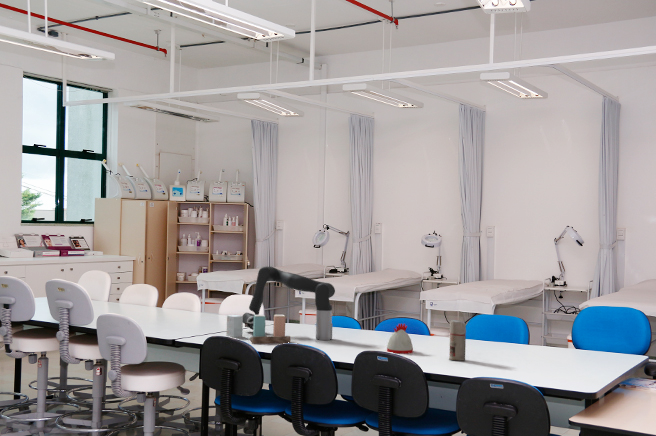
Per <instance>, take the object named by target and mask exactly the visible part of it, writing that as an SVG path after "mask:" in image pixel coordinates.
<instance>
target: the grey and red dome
mask: <svg viewBox="0 0 656 436" xmlns="http://www.w3.org/2000/svg"><path fill="white" fill-rule="evenodd" d="M395 327H396V328H394V327H393V330H394V332H393V333H392V334H390V335H391V336H390V337H389V338H388V342H387V345H386V346H387V347H386V352H388V353H390V352H393V353H392V354H404V355H406V354H413V353H414V347H413V343H412V339H411V337H410V336H409V334H408V333H407V332H406V330H407V327H408V325H406V323H398V324H397V325H396V326H395Z"/></svg>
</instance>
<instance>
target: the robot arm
mask: <svg viewBox="0 0 656 436" xmlns="http://www.w3.org/2000/svg"><path fill="white" fill-rule="evenodd" d="M268 282H274V283H275V282H276V283H280V284H283V285H284V286H286V287H287V288H288V289H292V290H295V291H300V292H307V293H308V292H309V293H314V302H315V307H316V313H315V314H316V317H315V318H316V319H315V321H316V322H315V323H316V324H315V340H318V339H319V341H328V340H330V339H332V340H333V323H332V321H333V320H332V319H333V307H332V305H331V303H330V298H332V297H334V295H335V294H336V289H335V286H334V285H333V284H332V283H330V282H323V281H318V280H314V279H312V278H309V277H307V276H303V275H302V274H301V275H300V274H297V273H293V272H289V271H288V272H286V271H283V270H280V269H278V268H276V267H274V266H270V265H269V266H262V267H260V269H259V270H258V273H257V277H256V282H255V287H254V292H253V296H252V299H251V300H250V304H249V307H248V309H249V310H250V311H251V312H252V313H250V312H243V313H244V314H242V316H243V324H244V327H245V328H249V329H250V330H252V331H253V327H254V316H255V315H260V311H261V308H262V305H263V302H264V293H265V292H264V290H265V288H266V287H265V286H266V284H267V283H268ZM253 313H254V314H253ZM330 341H331V340H330Z"/></svg>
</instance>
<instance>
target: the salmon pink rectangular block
mask: <svg viewBox="0 0 656 436" xmlns="http://www.w3.org/2000/svg"><path fill="white" fill-rule="evenodd" d="M272 327H273V333H272V336H286V315H284V314H274V315H273V326H272Z"/></svg>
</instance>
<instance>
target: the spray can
mask: <svg viewBox="0 0 656 436" xmlns="http://www.w3.org/2000/svg"><path fill="white" fill-rule="evenodd" d="M466 335H467V328H466V323H465V322H464V321H461V320H453V319H451V320H450V322H449V358H448V359H449V360H452V361H466V347H467V346H466V341H467V340H466V337H467V336H466Z"/></svg>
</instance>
